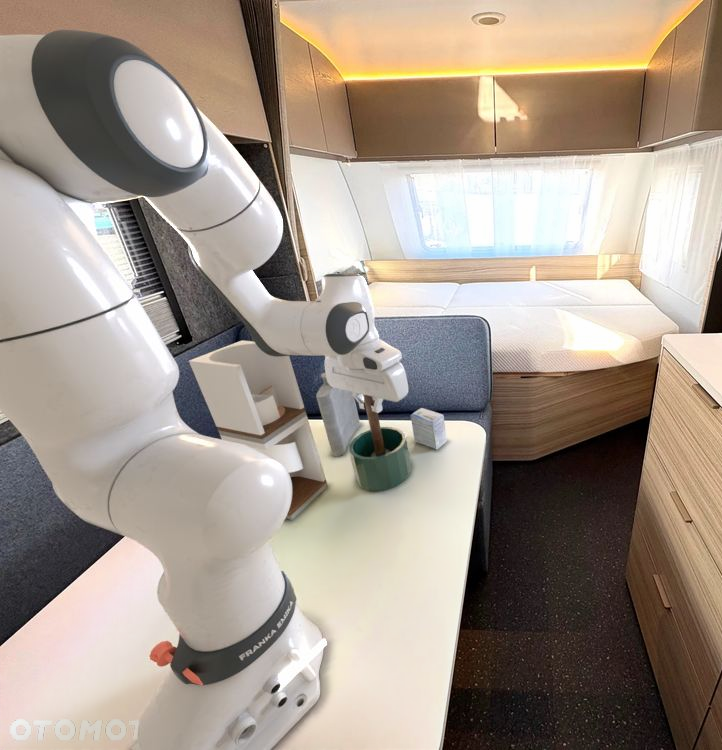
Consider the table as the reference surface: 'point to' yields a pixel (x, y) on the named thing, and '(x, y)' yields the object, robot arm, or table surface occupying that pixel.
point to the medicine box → (429, 428)
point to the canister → (380, 460)
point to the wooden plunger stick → (375, 428)
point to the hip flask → (337, 415)
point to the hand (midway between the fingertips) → (371, 409)
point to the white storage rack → (262, 412)
